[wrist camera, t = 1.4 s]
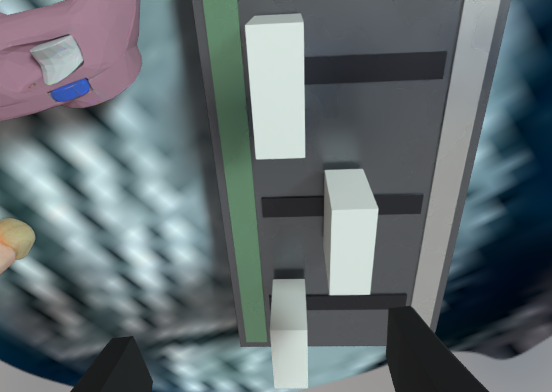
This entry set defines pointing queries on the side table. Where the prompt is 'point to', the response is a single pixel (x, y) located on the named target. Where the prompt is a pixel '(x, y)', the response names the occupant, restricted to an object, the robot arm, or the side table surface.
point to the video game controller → (67, 55)
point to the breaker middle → (349, 231)
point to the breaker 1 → (277, 84)
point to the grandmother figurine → (14, 241)
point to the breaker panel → (351, 151)
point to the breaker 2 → (289, 333)
